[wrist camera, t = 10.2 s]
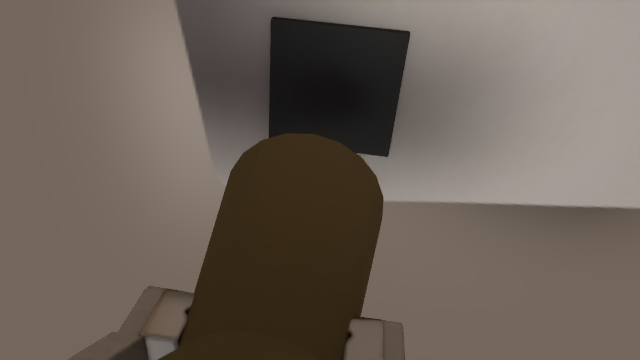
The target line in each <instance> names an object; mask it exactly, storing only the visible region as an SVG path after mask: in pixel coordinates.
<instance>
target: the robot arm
mask: <svg viewBox="0 0 640 360" xmlns="http://www.w3.org/2000/svg"><path fill="white" fill-rule="evenodd" d="M193 297H194V293H190V292H184V291H178V290H172V289H166V288H160V287H153V286H149V287H147V288H146V289H145V290H144V291H143V293H142V295H141V296H140V298H139V299H138V301H137V303H136V304H135V306H134V308H133V309H132V311H131V312H130V314H129V315H128V317H127V319H126V320H125V322H124V323H123V325H122V327H121V328H120V330H119V331H118V333H117V332H111V333H110V334H108V335H107V336H105V337H103V338H102V339H100V340H98V341H97V342H95V343H94V344H92V345H90V346H89V347H87V348H85V349H84V350H82V351H80V352H79V353H77V354H75V355H74V356H72V357H71V358H69V359H68V360H158V359H159V358H161V357H163V356H165V355H167V354H169V353H170V352H172V351H174V350H176V349H177V348H178V345H179V341H180V338H181V336H182V333H183V330H184V328H185V325H186V322H187V319H188V318H187V315H188V312H189V310H190V308H191V305H192V301H193ZM348 334H349V339H348V340H347V341H346V342H345V345H344V355H343V360H405V351H404V332H403V325H402V323H399V322H392V321H385V320H379V319H372V318H365V317H357V316H354V317H353V318H351V320H350V324H349V327H348Z"/></svg>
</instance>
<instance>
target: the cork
mask: <svg viewBox="0 0 640 360" xmlns="http://www.w3.org/2000/svg"><path fill="white" fill-rule="evenodd" d="M382 212H383V195H382V192H381V189H380V186H379V183H378V180H377V177H376V175H375V174H374V173H373V171H372V170H371V169H370V168H369V166H368V165H367V164H366V162H365V161H364V160H363V159H362V157H360V156H359V155H357V154H356V153H355V152H353V151H352V150H350V149H349V148H347V147H346V146H344V145H343V144H341V143H340V142H337V141H334V140H331V139H328V138H325V137H322V136H319V135H315V134H298V133H286V134H282V135H278V136H275V137H271V138H268V139H264V140H262V141H260V142H259V143H257V144H256V145H254V146H253V147H251V148H250V149H248V150H247V151H245V152H244V153H243V154H242V155H241V157H240V158H239V160H238V161H237V163H236V164H235V166H234V167H233V169H232V170H231V172H230V176H229V179H228V182H227V186H226V189H225V192H224V196H223V199H222V202H221V206H220V209H219V212H218V215H217V219H216V222H215V226H214V229H213V232H212V235H211V239H210V242H209V245H208V249H207V252H206V255H205V259H204V262H203V265H202V268H201V272H200V275H199V279H198V282H197V285H196V288H195V292H194V297H193V301H192V305H191V308H190V310H189V312H188V315H187V318H188V319H187V322H186V325H185V328H184V330H183V333H182V336H181V338H180V341H179V345H178V348H177V349H176V350H174V351H172V352H170V353H169V354H167V355H165V356H163V357H161V358H159V359H158V360H343V355H344V345H345V342H346V341H347V340H348V339H349V334H348V327H349V324H350V320H351V318H353V317H354V316H357V317H360V316H361V312H362V307H363V302H364V298H365V294H366V289H367V284H368V280H369V275H370V271H371V266H372V262H373V257H374V253H375V248H376V244H377V239H378V235H379V230H380V225H381V221H382Z"/></svg>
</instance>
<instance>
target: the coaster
mask: <svg viewBox="0 0 640 360" xmlns="http://www.w3.org/2000/svg"><path fill="white" fill-rule="evenodd" d="M409 37H410V32H409V31H400V30H391V29H381V28H372V27H362V26H353V25H343V24H334V23H324V22H315V21H306V20H296V19H287V18H277V17H272V18H271V45H270V104H269V138H271V137H275V136H278V135H282V134H286V133H298V134H315V135H319V136H322V137H325V138H328V139H331V140H334V141H337V142H340V143H341V144H343V145H344V146H346V147H347V148H349V149H350V150H352V151H353V152H355V153H361V154H369V155H377V156H385V157H388V154H389V149H390V143H391V137H392V132H393V126H394V121H395V115H396V109H397V104H398V98H399V93H400V87H401V82H402V76H403V70H404V65H405V59H406V54H407V48H408V42H409Z"/></svg>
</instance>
